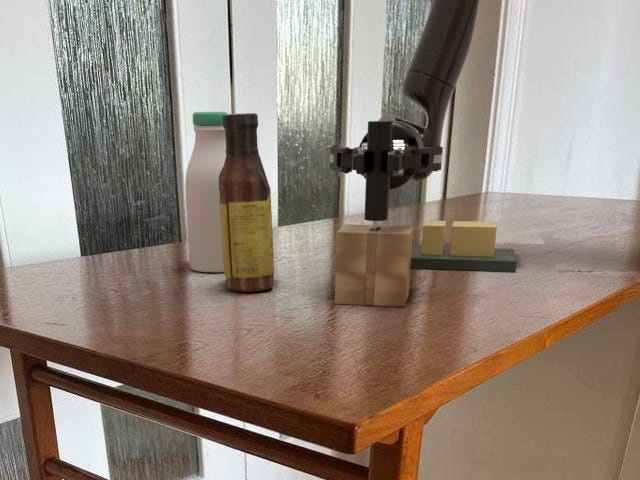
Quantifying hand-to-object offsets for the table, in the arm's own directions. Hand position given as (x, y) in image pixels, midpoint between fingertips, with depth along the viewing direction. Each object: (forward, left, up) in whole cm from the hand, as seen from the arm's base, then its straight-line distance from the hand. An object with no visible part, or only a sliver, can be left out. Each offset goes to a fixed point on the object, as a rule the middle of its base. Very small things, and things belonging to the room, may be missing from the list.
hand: (375, 163), depth 80 cm
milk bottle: (+24, -18, -15) cm, 34 cm away
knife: (0, -3, -15) cm, 15 cm away
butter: (-9, -28, -15) cm, 33 cm away
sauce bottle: (+16, -6, -15) cm, 23 cm away
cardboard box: (0, -3, -15) cm, 15 cm away
